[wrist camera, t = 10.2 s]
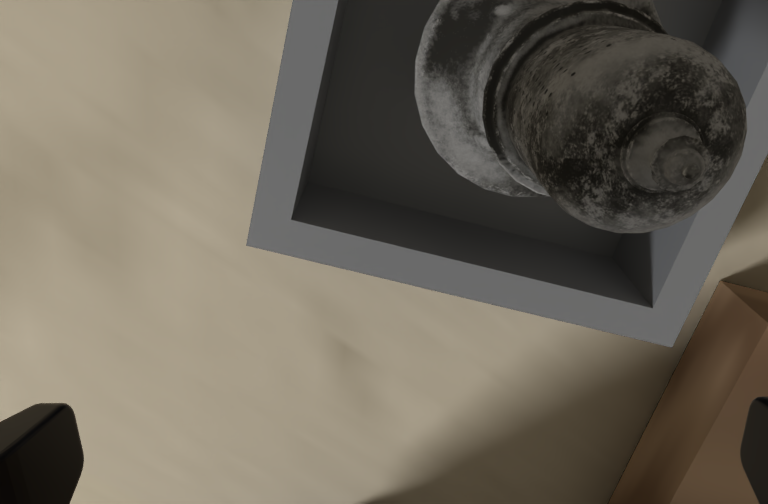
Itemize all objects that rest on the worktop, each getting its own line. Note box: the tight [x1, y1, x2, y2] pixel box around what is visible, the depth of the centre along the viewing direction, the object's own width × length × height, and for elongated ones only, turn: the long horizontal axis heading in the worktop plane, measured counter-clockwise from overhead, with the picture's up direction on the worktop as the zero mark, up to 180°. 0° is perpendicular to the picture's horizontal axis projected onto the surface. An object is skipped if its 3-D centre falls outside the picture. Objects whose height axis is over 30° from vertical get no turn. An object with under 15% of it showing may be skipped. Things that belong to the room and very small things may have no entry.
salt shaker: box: [415, 0, 747, 233], centre depth 13 cm, size 6×6×12 cm
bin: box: [246, 0, 768, 348], centre depth 17 cm, size 12×12×4 cm
